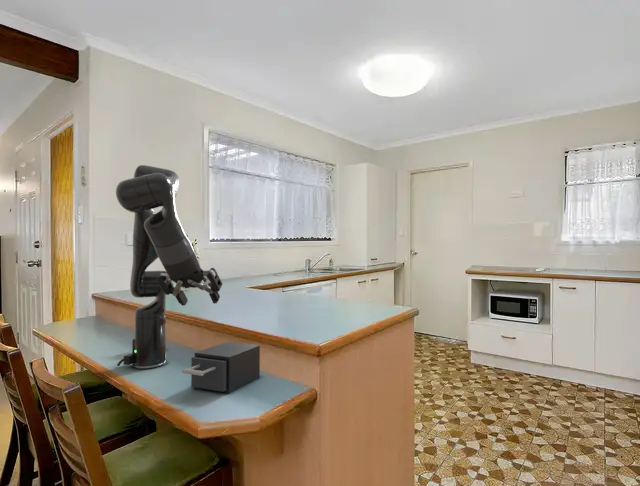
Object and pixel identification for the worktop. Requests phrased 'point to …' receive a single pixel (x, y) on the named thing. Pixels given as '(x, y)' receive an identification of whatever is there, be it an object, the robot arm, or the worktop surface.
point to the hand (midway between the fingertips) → (200, 302)
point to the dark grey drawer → (208, 373)
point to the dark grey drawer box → (236, 362)
